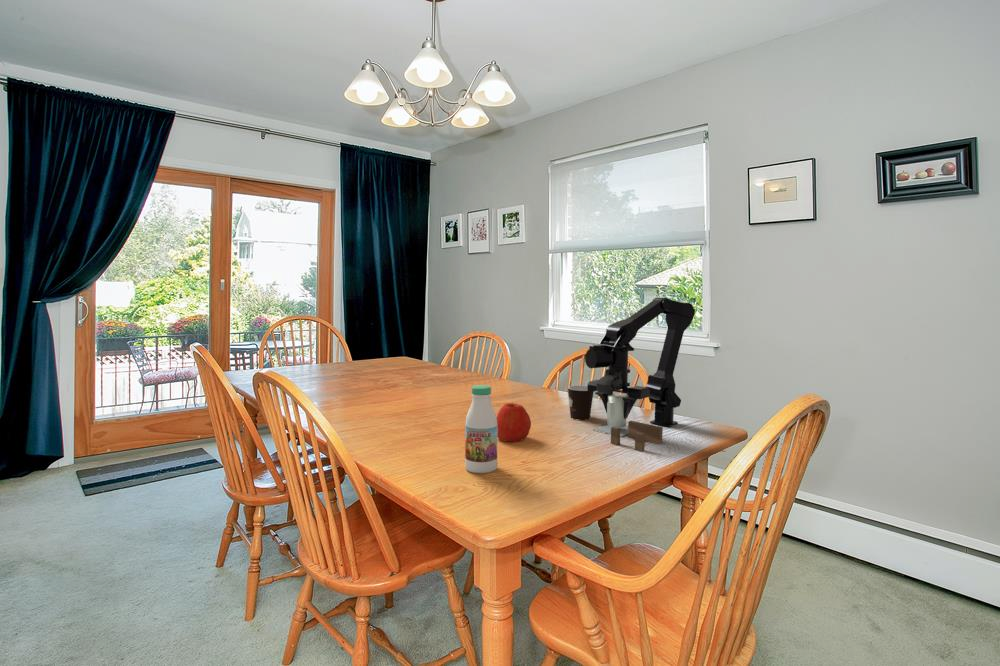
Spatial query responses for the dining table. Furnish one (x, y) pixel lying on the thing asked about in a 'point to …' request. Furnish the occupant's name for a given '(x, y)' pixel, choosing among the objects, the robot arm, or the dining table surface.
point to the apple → (513, 423)
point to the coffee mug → (580, 402)
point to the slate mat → (608, 430)
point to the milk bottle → (481, 432)
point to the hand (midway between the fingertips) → (616, 417)
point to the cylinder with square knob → (615, 411)
